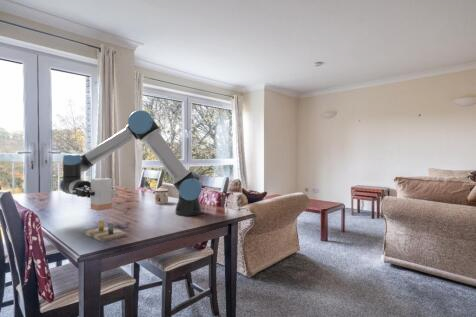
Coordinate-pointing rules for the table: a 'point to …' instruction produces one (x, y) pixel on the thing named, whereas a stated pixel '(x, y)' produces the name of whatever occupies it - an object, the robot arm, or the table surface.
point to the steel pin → (110, 228)
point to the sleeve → (102, 194)
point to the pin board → (104, 234)
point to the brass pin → (101, 225)
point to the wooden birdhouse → (161, 195)
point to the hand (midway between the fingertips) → (107, 193)
